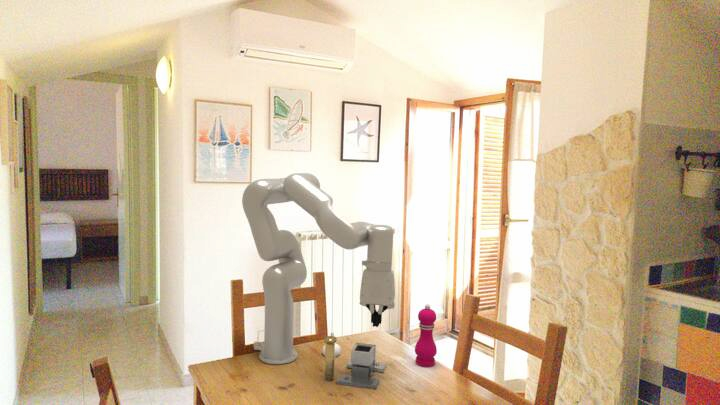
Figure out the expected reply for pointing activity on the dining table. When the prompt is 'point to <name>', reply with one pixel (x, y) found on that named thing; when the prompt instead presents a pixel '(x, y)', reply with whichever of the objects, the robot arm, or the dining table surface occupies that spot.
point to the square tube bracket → (365, 357)
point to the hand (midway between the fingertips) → (376, 325)
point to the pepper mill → (426, 338)
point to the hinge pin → (329, 357)
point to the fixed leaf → (359, 377)
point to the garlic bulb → (337, 348)
